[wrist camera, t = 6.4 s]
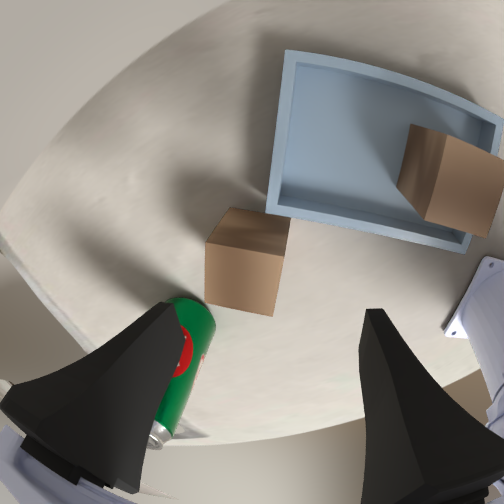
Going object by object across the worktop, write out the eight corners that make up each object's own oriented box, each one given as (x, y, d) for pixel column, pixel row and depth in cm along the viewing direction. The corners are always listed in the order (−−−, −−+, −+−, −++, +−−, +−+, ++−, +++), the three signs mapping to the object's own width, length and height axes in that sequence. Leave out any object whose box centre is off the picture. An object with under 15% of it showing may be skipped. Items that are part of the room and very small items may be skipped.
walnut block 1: (290, 217, 18) (284, 256, 14) (281, 269, 20) (272, 316, 16) (230, 207, 19) (205, 242, 15) (226, 258, 21) (204, 302, 17)
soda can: (189, 342, 26) (140, 451, 16) (153, 305, 25) (84, 412, 15) (229, 326, 24) (183, 454, 14) (190, 284, 23) (118, 410, 12)
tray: (485, 115, 12) (504, 119, 10) (451, 238, 17) (464, 254, 15) (288, 56, 13) (285, 49, 11) (270, 199, 18) (265, 212, 16)
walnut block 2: (410, 123, 13) (447, 134, 9) (464, 144, 13) (510, 163, 9) (395, 187, 15) (424, 220, 11) (449, 202, 15) (485, 238, 11)
